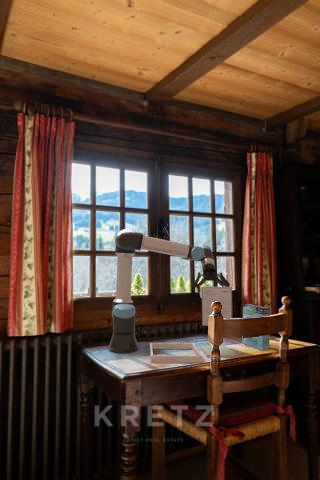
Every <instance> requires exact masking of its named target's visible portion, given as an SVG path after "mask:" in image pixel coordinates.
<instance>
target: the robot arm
mask: <svg viewBox="0 0 320 480" xmlns="http://www.w3.org/2000/svg"><path fill="white" fill-rule="evenodd" d="M114 244H115V247H114V250H115V251H114V254H115V256H117V263H116V283H115V286H116V289H115V298H114V299H113V300H112V311H111V318H112V336H111V339H110V342H109V345H108V349H109V350H108V351H110V352H113V353H116V354H117V353H118V354H119V353H122V354H123V353H125V354H126V353H134V352H137V351H138V350H139V344H138V341H137V338H136V332H135V331H136V307H135V305H134V301H133V299H132V280H133V279H132V275H133V273H132V272H133V257H134V256H135V255H136V251H142V250H145V251H149V252H154V253H159V254H162V255H163V254H165V255H169V256H173V257H179V258H180V259H181V260H185V261H186V260H187V261H196V262H200V263H201V269H202V272H198V273H197V276H196V279H195V280H194V283H193V288H196V289H197V293H199V296H200V299H202V287H203V284H204V283H205V282H206V281H208V282H209V281H210V282H212V281H214V282H215V283H217V284H218V285H219V286H220V287H231V284H230V282H229V281H228V280H227V278H225V276H224V275H223V272H219V273H217V270H216V269H217V268H216V264H215V260H214V254H213V250H212V248H211V247H210V246H209V245H204V246H198V245H192V244H186V243H181V242H176V241H171V240H166V239H162V238H159V237H158V238H157V237H154V236H153V237H151V236H147V235H145V234H144V233H142V232H138V231H135V230H133V229H129V228H126V229H122V230H120V231H119V232H118V233H117V235H116V236H115V239H114ZM202 277H203V278H202ZM201 278H202V279H201ZM200 279H201V280H200Z"/></svg>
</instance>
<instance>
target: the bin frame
mask: <svg viewBox="0 0 320 480" xmlns="http://www.w3.org/2000/svg"><path fill="white" fill-rule="evenodd" d="M154 350H192V351H193V353H194V354H195V355H154ZM149 355H150V363H152V364H154V363H155V364H157V363H158V364H163V363H166V364H168V363H169V364H170V363H171V364H173V363H174V364H175V363H176V364H177V363H178V364H181V363H183V364H185V363H186V364H190V363H191V364H194V363H195V364H197V363H198V364H199V363H200V364H202V363H203V355H202V353H201V352H200V351H199V349H198V348H197V346H196V344H195V343H194V342H149Z"/></svg>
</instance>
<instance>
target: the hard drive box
mask: <svg viewBox="0 0 320 480" xmlns="http://www.w3.org/2000/svg"><path fill="white" fill-rule="evenodd" d="M201 287H202V298H201V326H205V327H207V326H208V316H209V315H210V314H212V312H213V310H212V308H211V304H212V302H215V301H218V302H220V303H221V305H222V309H221V314H222V316H223V318H226V319H230V318H232V319H233V287H232V286H229V287H222V286H201ZM208 327H209V326H208Z"/></svg>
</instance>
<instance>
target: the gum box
mask: <svg viewBox="0 0 320 480" xmlns="http://www.w3.org/2000/svg"><path fill="white" fill-rule="evenodd" d="M261 316H270V317H271V308H270V307H265V306H260V305H256V304H251V303H245V304H244V303H242V319H243V318H249V317H261ZM270 340H271V339H270V335H265V336H259V337H253V338H244V339H243V338H242V344H243V345H247V346H249V347H252V348H254V349H256V350H259V349H260V350H259V351H261V350H269V351H270Z"/></svg>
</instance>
